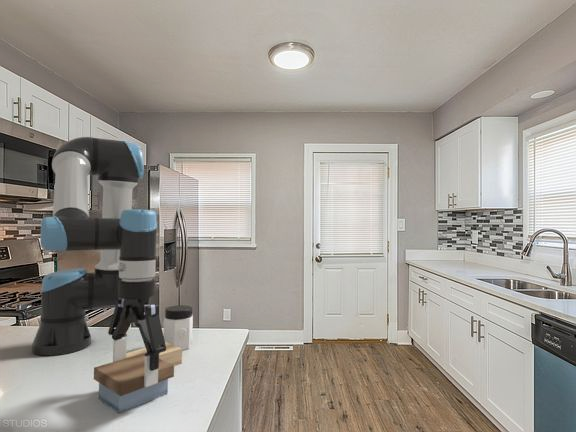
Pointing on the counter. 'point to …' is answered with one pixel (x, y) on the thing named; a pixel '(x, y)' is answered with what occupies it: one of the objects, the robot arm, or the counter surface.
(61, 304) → the robot arm
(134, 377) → the lid
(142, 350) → the tan wooden block
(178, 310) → the jar
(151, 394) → the dish
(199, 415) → the counter surface
